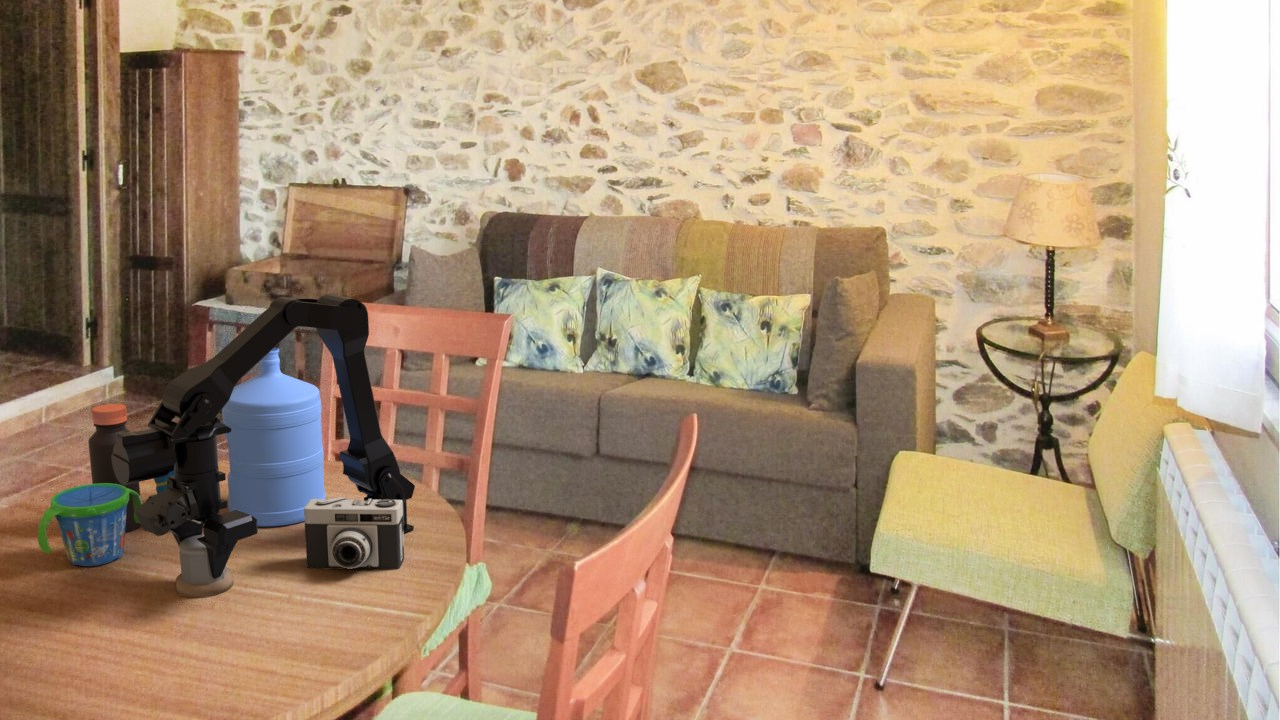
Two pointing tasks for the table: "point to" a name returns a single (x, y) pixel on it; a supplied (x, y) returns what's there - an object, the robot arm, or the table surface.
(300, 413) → the water jug
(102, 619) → the table surface
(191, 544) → the cap
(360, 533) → the camera
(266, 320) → the robot arm
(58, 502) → the snack cup
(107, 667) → the table surface
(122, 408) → the bottle
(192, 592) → the stub
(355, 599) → the table surface
